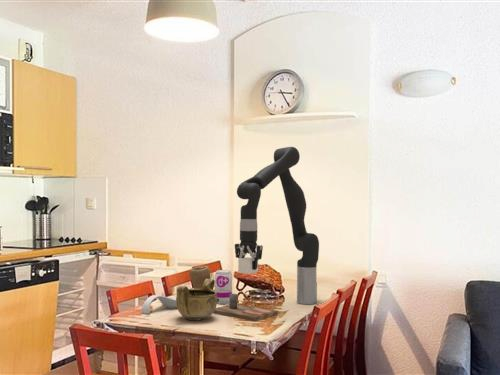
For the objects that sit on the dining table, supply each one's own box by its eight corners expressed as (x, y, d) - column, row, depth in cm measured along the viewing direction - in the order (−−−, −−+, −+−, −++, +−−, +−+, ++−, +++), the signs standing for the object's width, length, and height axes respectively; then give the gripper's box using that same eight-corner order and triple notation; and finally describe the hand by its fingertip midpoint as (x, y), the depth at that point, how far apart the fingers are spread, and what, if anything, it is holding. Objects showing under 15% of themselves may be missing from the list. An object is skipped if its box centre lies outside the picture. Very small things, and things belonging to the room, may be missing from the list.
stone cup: (184, 296, 262) (184, 266, 263) (198, 293, 272) (199, 264, 273) (209, 299, 254) (209, 269, 255) (222, 296, 265) (223, 266, 265)
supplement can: (229, 304, 243) (230, 272, 243) (212, 304, 245) (212, 271, 245) (233, 301, 251) (234, 270, 251) (217, 300, 252) (217, 269, 253)
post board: (234, 306, 238) (234, 290, 239) (277, 314, 224) (277, 296, 224) (210, 312, 226) (210, 295, 226) (255, 321, 211) (255, 302, 211)
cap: (247, 271, 228) (247, 257, 228) (258, 272, 225) (258, 258, 225) (238, 272, 224) (238, 258, 224) (249, 273, 220) (249, 259, 220)
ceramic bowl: (195, 311, 228) (196, 276, 229) (228, 316, 220) (229, 280, 220) (162, 321, 209) (163, 283, 209) (197, 327, 200) (198, 287, 201)
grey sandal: (172, 303, 245) (172, 288, 245) (191, 307, 238) (192, 291, 239) (135, 312, 225) (135, 296, 225) (155, 316, 219) (155, 299, 219)
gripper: (267, 229, 223) (267, 269, 223) (241, 228, 232) (241, 266, 232) (256, 230, 217) (256, 271, 217) (230, 229, 226) (229, 268, 226)
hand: (248, 268), depth 224 cm, fingers closed on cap, 6 cm apart
